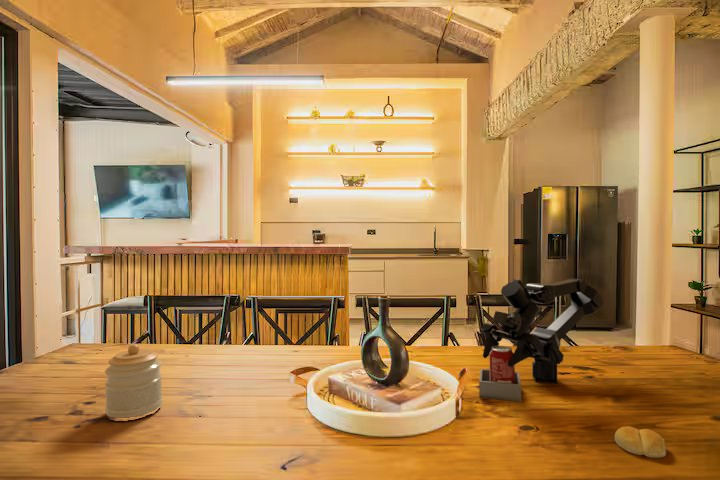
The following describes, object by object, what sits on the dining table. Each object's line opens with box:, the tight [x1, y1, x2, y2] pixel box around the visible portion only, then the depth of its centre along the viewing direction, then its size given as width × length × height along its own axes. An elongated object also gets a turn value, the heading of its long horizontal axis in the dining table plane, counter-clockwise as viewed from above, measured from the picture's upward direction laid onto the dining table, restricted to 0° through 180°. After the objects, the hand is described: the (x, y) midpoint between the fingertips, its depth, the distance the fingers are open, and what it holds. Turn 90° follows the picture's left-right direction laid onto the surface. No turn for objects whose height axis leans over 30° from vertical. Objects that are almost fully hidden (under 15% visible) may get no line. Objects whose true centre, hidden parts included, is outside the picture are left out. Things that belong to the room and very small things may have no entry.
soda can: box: [489, 345, 516, 384], centre depth 116 cm, size 7×7×12 cm
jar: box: [104, 343, 163, 418], centre depth 107 cm, size 13×13×18 cm
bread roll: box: [614, 425, 667, 459], centre depth 87 cm, size 8×9×4 cm
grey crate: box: [478, 368, 522, 403], centre depth 117 cm, size 11×11×4 cm
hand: (496, 361), depth 116 cm, fingers open, 9 cm apart
